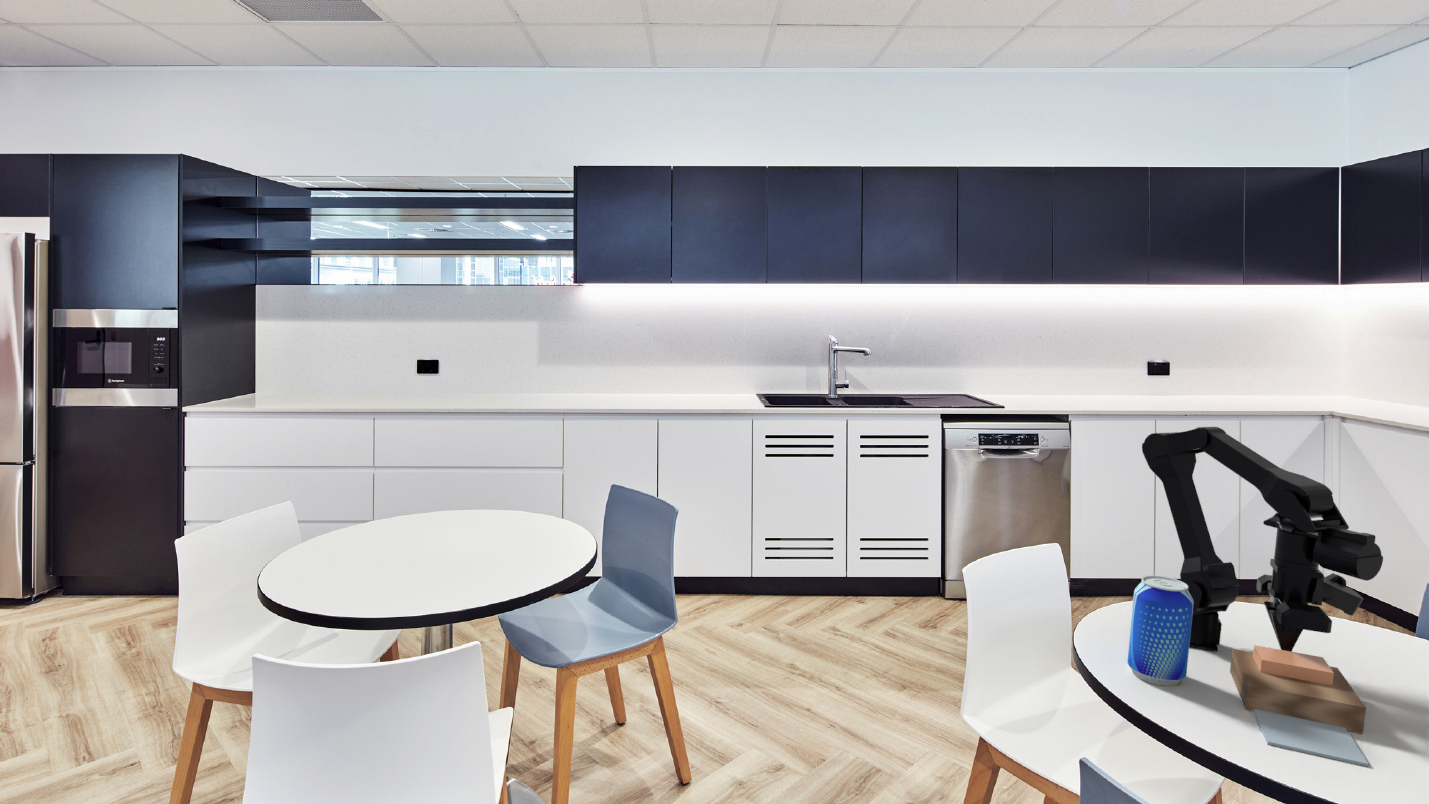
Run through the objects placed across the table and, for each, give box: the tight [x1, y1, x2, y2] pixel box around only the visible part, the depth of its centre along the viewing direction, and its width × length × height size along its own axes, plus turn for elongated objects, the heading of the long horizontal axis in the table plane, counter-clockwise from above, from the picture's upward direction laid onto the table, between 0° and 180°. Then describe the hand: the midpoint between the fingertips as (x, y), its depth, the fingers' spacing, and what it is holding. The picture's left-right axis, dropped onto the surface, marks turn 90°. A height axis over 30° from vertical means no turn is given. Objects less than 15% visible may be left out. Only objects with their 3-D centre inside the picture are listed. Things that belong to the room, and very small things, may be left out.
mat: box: [1253, 709, 1369, 767], centre depth 107 cm, size 11×10×1 cm
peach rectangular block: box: [1252, 644, 1334, 685], centre depth 119 cm, size 9×6×2 cm, turn 64°
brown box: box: [1229, 648, 1367, 735], centre depth 118 cm, size 14×14×4 cm
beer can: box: [1127, 575, 1194, 687], centre depth 124 cm, size 8×8×16 cm
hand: (1285, 652), depth 123 cm, fingers closed
